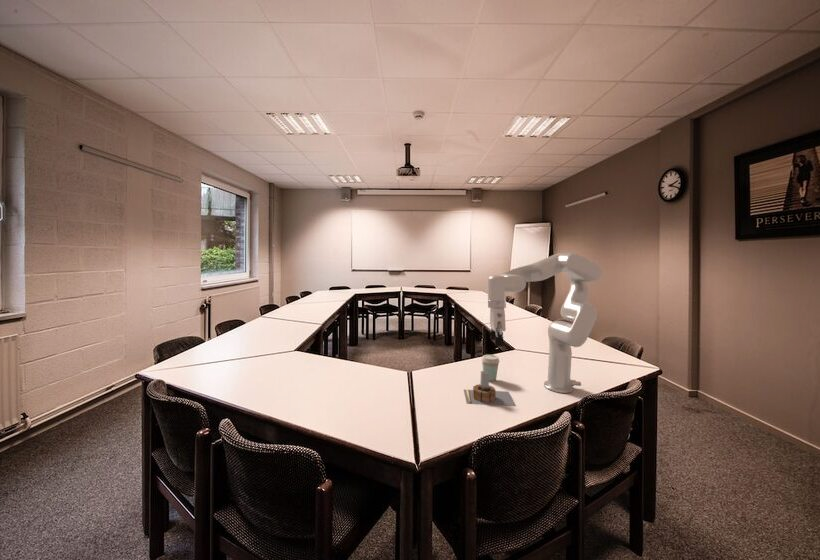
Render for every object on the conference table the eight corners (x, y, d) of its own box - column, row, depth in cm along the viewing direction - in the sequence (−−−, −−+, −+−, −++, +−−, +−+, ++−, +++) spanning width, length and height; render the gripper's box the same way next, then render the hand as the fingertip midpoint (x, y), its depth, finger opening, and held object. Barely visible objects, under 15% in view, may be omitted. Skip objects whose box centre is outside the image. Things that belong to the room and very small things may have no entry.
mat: (508, 392, 144) (508, 389, 144) (516, 407, 130) (516, 404, 130) (463, 390, 146) (463, 387, 146) (466, 405, 132) (466, 401, 132)
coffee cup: (499, 384, 153) (500, 360, 152) (481, 383, 155) (481, 358, 154) (498, 378, 161) (498, 354, 161) (480, 376, 163) (481, 353, 162)
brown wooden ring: (492, 393, 142) (493, 384, 141) (496, 402, 133) (496, 393, 133) (472, 392, 142) (472, 383, 142) (474, 401, 134) (474, 392, 133)
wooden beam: (486, 396, 139) (487, 371, 138) (488, 399, 136) (489, 374, 135) (479, 395, 139) (480, 371, 138) (480, 398, 136) (481, 373, 136)
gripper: (510, 307, 130) (510, 348, 131) (501, 300, 147) (501, 337, 149) (492, 307, 130) (491, 348, 132) (484, 301, 148) (484, 337, 149)
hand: (496, 342), depth 140 cm, fingers open, 9 cm apart
